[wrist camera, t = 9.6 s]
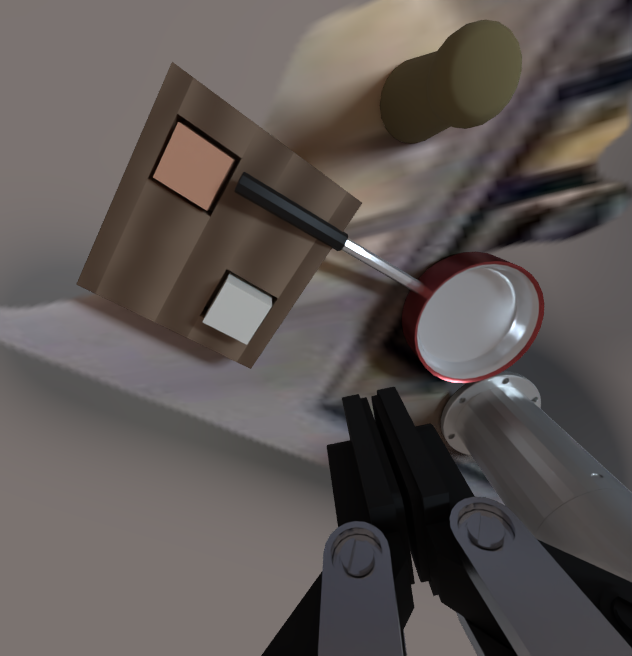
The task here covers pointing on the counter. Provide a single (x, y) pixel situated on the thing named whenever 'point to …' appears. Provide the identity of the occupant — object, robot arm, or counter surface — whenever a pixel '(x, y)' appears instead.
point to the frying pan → (440, 298)
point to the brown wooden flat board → (209, 225)
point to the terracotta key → (194, 167)
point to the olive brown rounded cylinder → (453, 83)
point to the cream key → (238, 308)
